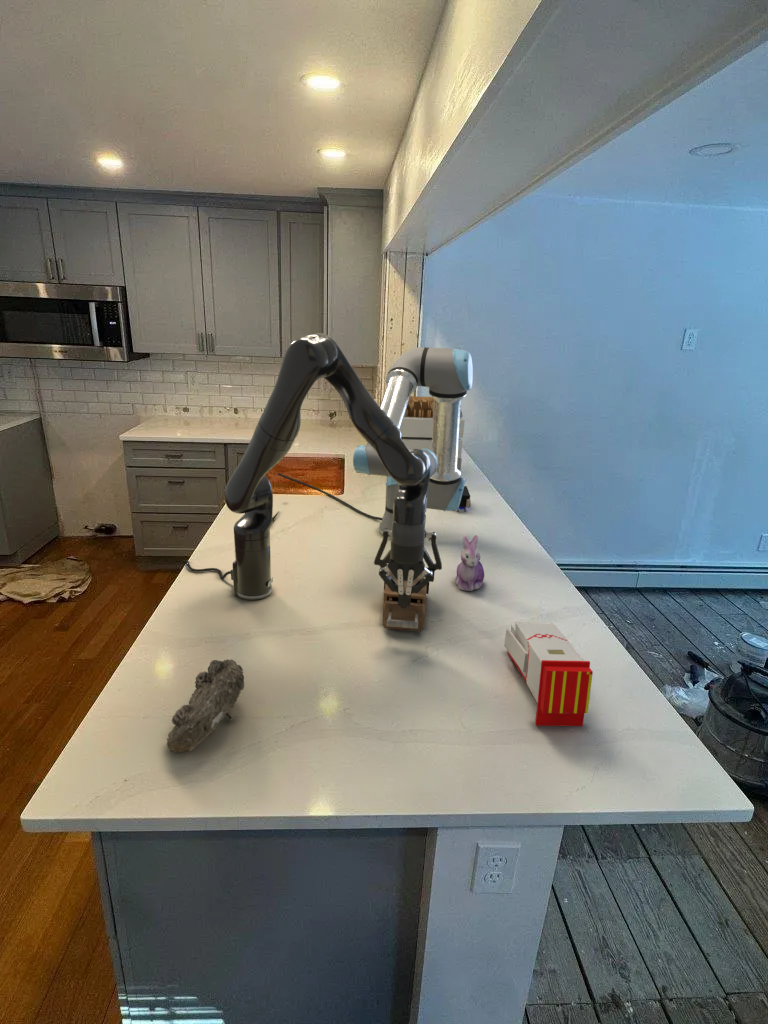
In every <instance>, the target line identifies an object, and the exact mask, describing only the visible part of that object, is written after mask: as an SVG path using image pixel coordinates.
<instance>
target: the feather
mask: <svg viewBox="0 0 768 1024" xmlns="http://www.w3.org/2000/svg"><path fill="white" fill-rule="evenodd" d="M278 514H279V512H277V513H276V514H275V515H274V516H272V524H273V523H274V521H275V520H276V518H277V516H278Z"/></svg>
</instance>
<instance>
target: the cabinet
mask: <svg viewBox="0 0 768 1024" xmlns="http://www.w3.org/2000/svg"><path fill="white" fill-rule="evenodd" d="M425 568H426V569H427V566H425ZM389 571H390V570H389ZM422 573H423V572H422ZM422 573H421V574H420V575H419V576H418V577H417V578H416V579H415V580H413V583H412V586H414V585H415V584H416V583H417V582H418V581H419V580H420V579H421V578H422ZM389 575H390V576H391V577H392V579H393V580H394V581H395V582H396V584H397V585H398V579H396V578H395V577H394V575H393V574H392V572H391V571H390V574H389ZM406 586H407V581H406V580H405V581H404V591H406ZM426 589H427V584H426V585H425V586H424V587H423V588H422V589H421V590H420V591H419V592H418V593H412V594H411V598H413V599H420V603H421V604H423V616H422V629H424V628H425V619H426V618H425V617H426V605H427V594H426ZM389 597H398V593H397V592H392V591H391V590H390V588H389V587H388V586H387V584H385V590H384V589H383V605H382V623H381V624H382V626H384V614H385V601H389Z"/></svg>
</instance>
